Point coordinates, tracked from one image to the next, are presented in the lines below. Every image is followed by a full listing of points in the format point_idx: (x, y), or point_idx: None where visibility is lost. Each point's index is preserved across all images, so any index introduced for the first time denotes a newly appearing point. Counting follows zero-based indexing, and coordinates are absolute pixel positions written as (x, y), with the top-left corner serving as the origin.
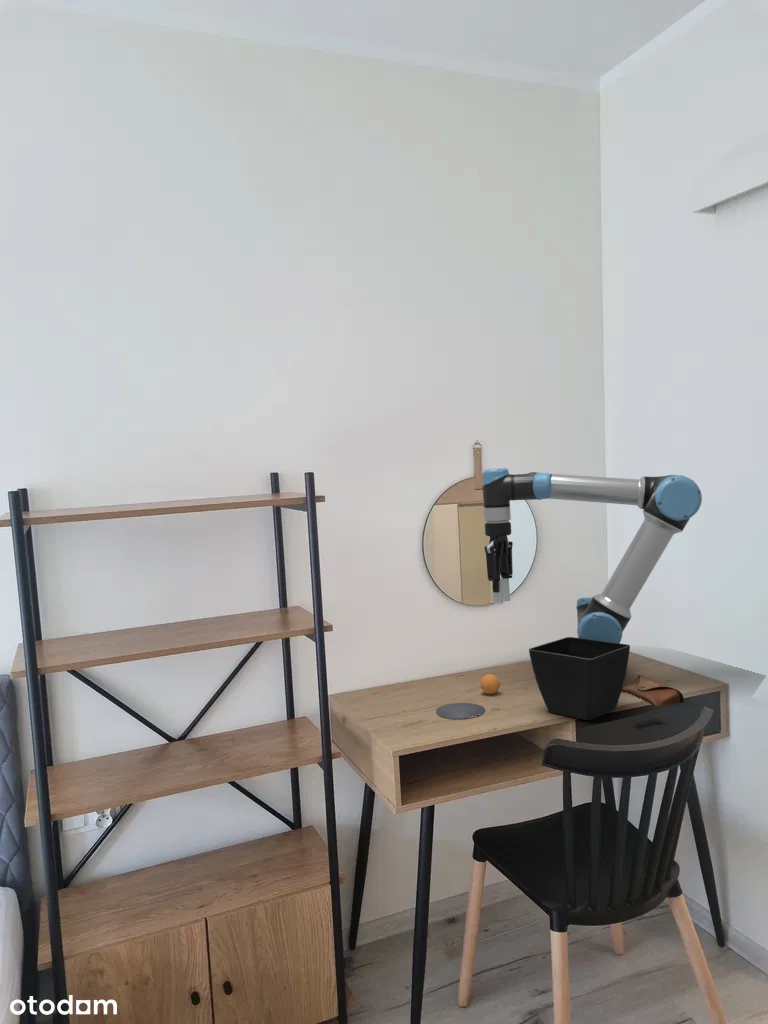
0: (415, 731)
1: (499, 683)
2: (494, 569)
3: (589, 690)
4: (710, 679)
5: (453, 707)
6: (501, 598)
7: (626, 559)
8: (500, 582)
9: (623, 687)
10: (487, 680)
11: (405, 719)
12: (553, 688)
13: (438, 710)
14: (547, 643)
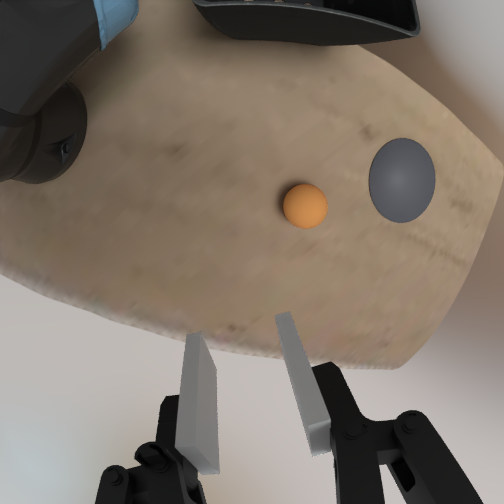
0: (476, 182)
1: (298, 186)
2: (462, 471)
3: None
4: None
5: (399, 201)
6: (296, 330)
7: None
8: (326, 412)
9: None
10: (326, 202)
11: (454, 225)
12: (357, 9)
13: (419, 211)
14: (333, 9)
